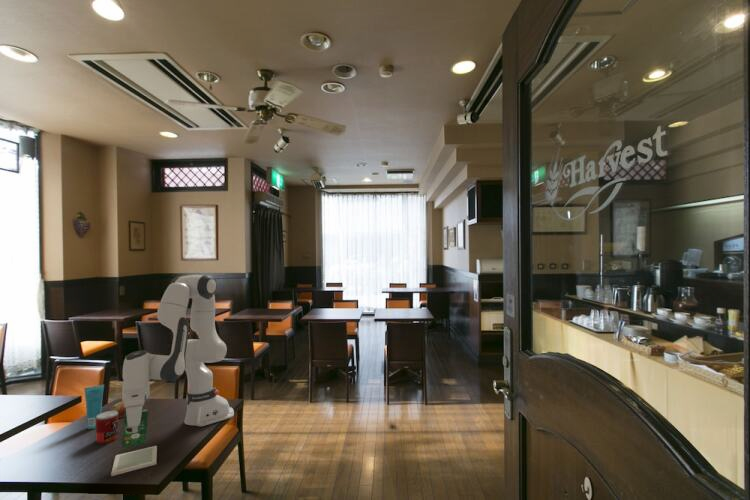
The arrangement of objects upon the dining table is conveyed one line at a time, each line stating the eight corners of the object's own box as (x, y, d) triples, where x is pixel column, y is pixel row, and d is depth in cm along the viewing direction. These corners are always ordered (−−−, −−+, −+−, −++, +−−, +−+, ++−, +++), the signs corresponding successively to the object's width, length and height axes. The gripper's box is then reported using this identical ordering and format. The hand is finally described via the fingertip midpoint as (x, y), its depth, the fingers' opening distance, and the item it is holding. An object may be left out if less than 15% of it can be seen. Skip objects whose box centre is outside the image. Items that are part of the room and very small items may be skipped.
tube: (103, 422, 171) (103, 383, 171) (104, 426, 167) (104, 385, 168) (83, 428, 166) (83, 386, 166) (84, 431, 162) (84, 389, 163)
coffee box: (146, 441, 141) (148, 407, 142) (146, 444, 139) (148, 410, 139) (121, 445, 137) (124, 411, 138) (121, 449, 134) (123, 414, 135)
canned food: (106, 444, 150) (106, 418, 151) (91, 443, 152) (91, 417, 152) (122, 436, 158) (122, 411, 158) (107, 434, 159) (108, 409, 160)
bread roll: (123, 417, 185) (117, 403, 186) (139, 409, 184) (133, 395, 185) (106, 426, 175) (100, 411, 176) (123, 418, 174) (117, 403, 175)
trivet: (156, 447, 147) (157, 445, 147) (156, 464, 135) (156, 461, 135) (115, 457, 140) (115, 455, 140) (111, 476, 128) (111, 473, 128)
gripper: (128, 387, 146) (128, 421, 145) (123, 404, 128) (123, 443, 128) (146, 384, 149) (146, 417, 149) (144, 400, 131) (143, 438, 131)
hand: (135, 429), depth 138 cm, fingers closed on coffee box, 3 cm apart
